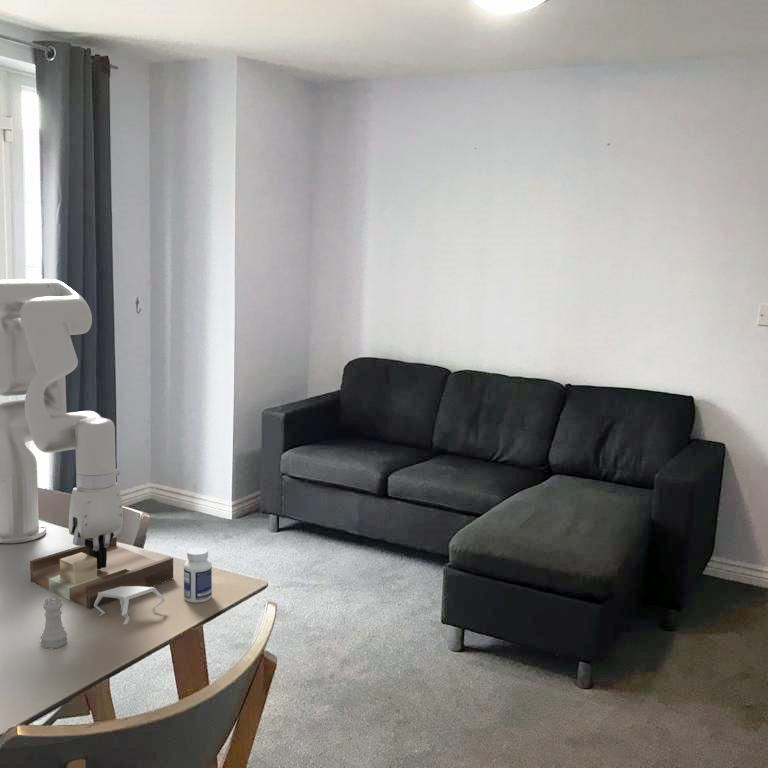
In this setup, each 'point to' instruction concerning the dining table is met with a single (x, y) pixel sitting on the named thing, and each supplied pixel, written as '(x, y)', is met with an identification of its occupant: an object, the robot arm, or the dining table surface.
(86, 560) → the maple block
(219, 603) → the dining table surface
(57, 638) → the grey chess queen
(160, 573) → the board
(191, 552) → the pill bottle
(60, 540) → the dining table surface
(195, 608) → the dining table surface
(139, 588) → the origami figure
